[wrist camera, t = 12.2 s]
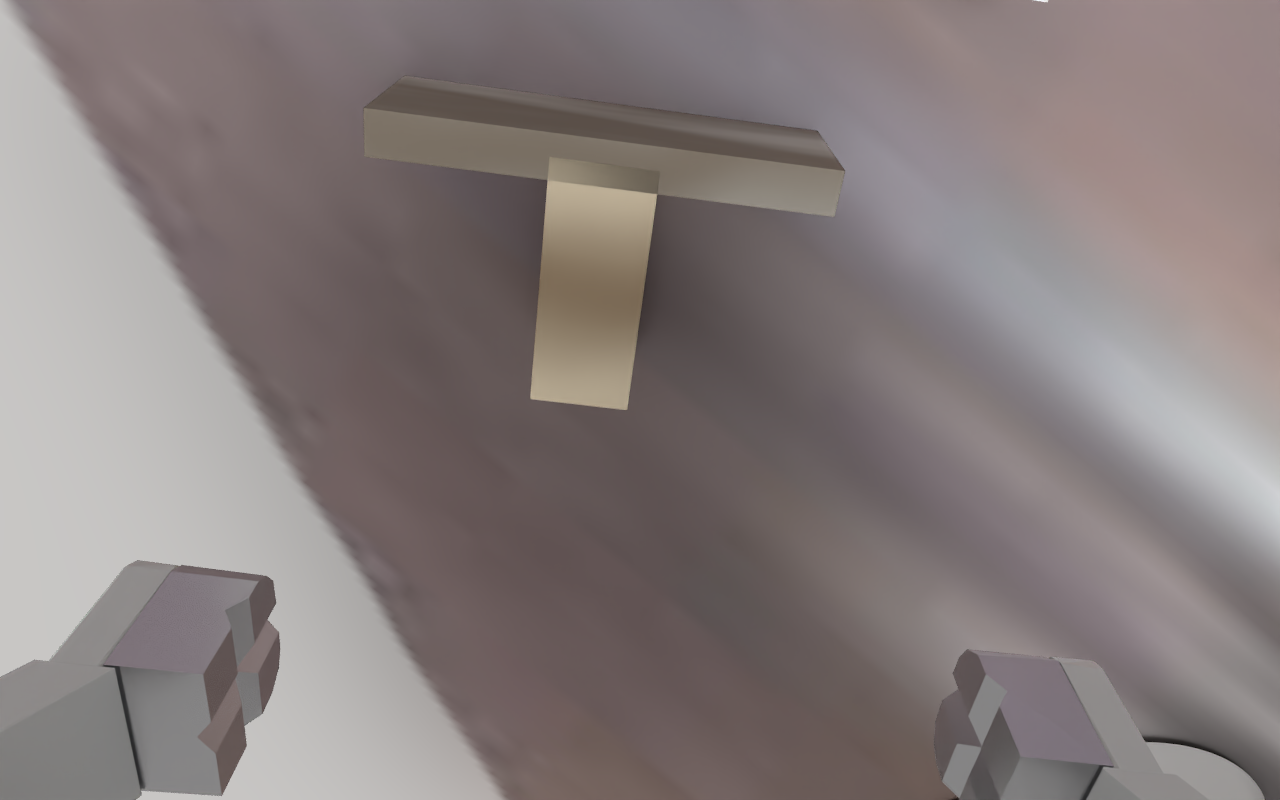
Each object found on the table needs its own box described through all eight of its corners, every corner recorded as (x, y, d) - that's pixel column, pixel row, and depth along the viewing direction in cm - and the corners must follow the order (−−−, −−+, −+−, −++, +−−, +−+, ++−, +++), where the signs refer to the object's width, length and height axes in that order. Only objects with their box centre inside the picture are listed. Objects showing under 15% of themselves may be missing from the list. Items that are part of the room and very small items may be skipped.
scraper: (766, 360, 31) (783, 428, 27) (404, 316, 30) (368, 380, 26) (817, 130, 27) (845, 171, 23) (405, 75, 26) (363, 107, 22)
